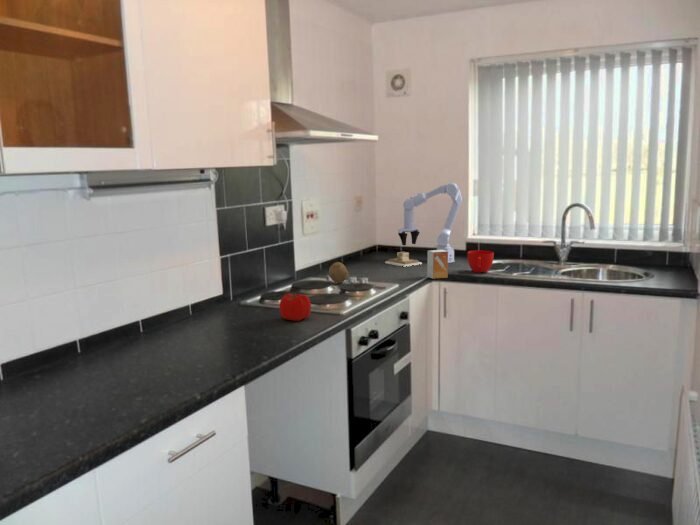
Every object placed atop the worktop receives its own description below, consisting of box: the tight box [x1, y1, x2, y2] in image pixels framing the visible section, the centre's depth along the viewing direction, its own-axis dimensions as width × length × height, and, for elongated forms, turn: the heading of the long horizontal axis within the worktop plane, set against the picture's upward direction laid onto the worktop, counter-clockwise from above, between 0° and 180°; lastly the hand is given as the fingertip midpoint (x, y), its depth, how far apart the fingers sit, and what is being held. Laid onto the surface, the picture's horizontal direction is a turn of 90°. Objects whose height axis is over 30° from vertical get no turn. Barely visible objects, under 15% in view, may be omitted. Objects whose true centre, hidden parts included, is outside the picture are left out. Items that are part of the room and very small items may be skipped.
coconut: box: [328, 261, 350, 284], centre depth 268 cm, size 9×9×10 cm
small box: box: [426, 249, 449, 280], centre depth 278 cm, size 8×6×13 cm
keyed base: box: [384, 257, 423, 268], centre depth 319 cm, size 16×13×2 cm
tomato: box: [278, 293, 312, 322], centre depth 206 cm, size 11×12×9 cm
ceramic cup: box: [467, 249, 495, 274], centre depth 289 cm, size 13×17×10 cm
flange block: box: [392, 251, 413, 262], centre depth 319 cm, size 10×6×5 cm, turn 36°
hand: (408, 244), depth 327 cm, fingers open, 7 cm apart
